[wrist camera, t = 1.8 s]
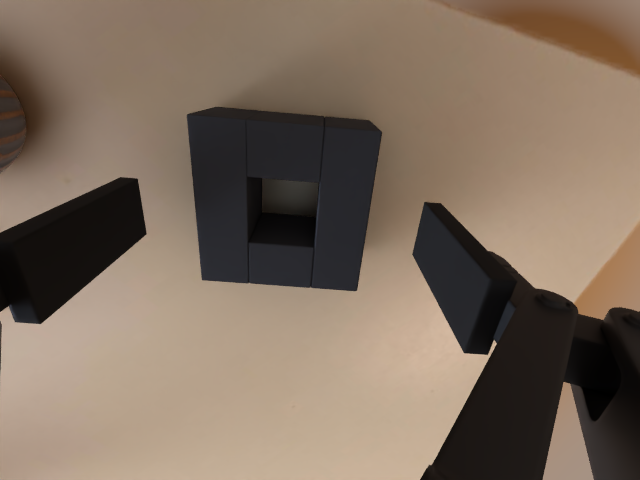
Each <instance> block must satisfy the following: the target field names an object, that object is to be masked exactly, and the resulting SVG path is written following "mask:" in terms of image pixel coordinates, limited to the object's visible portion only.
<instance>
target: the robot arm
mask: <svg viewBox="0 0 640 480" xmlns="http://www.w3.org/2000/svg"><path fill="white" fill-rule="evenodd" d="M145 235H146V227H145V221H144V215H143V209H142V202H141V196H140V190H139V184H138V179H135V178H122V177H120V178H118V179H116V180H114V181H112V182H109V183H107V184H105V185H103V186H101V187H98V188H96V189H94V190H92V191H90V192H88V193H85V194H83V195H81V196H79V197H77V198H75V199H72V200H70V201H68V202H66V203H64V204H62V205H59V206H57V207H55V208H53V209H51V210H49V211H46V212H44V213H42V214H40V215H38V216H36V217H33V218H31V219H29V220H27V221H25V222H22V223H20V224H18V225H16V226H14V227H12V228H9V229H7V230H5V231H3V232H1V233H0V312H1V311H2V310H4V309H5V308H6V307H8V306H9V308H10V310H11V313H12V315H13V318H14V320H15V322H20V323H35V324H41V323H43V322H44V321H45V320H46V319H47V318H48V317H50V316H51V315H52V314H53V313H54V312H55V311H57V310H58V309H59V308H60V307H61V306H63V305H64V304H65V303H66V302H67V301H68V300H70V299H71V298H72V297H73V296H74V295H75V294H77V293H78V292H79V291H80V290H81V289H83V288H84V287H85V286H86V285H87V284H88V283H90V282H91V281H92V280H93V279H94V278H95V277H97V276H98V275H99V274H100V273H101V272H103V271H104V270H105V269H106V268H107V267H108V266H110V265H111V264H112V263H113V262H114V261H115V260H117V259H118V258H119V257H120V256H121V255H123V254H124V253H125V252H126V251H127V250H128V249H130V248H131V247H132V246H133V245H134V244H135V243H137V242H138V241H139V240H140V239H141V238H143V237H144V236H145ZM412 255H413V257H414V259H415V260H416V262H417V264H418V266H419V268H420V270H421V272H422V274H423V276H424V278H425V279H426V281H427V283H428V285H429V287H430V289H431V291H432V293H433V295H434V297H435V299H436V300H437V302H438V304H439V306H440V308H441V310H442V312H443V314H444V316H445V318H446V320H447V321H448V323H449V325H450V327H451V329H452V331H453V333H454V335H455V337H456V339H457V341H458V342H459V344H460V346H461V348H462V350H463V352H464V353H470V354H485V355H488V353H489V351H490V348H491V346H492V343H493V341H494V340H495V341H496V343H497V345H496V347H495V349H494V350H493V352H492V354H491V356H490V358H489V360H488V362H487V363H486V365H485V367H484V369H483V371H482V373H481V375H480V377H479V378H478V380H477V382H476V384H475V386H474V388H473V390H472V391H471V393H470V395H469V397H468V399H467V401H466V403H465V405H464V406H463V408H462V410H461V412H460V414H459V416H458V418H457V419H456V421H455V423H454V425H453V427H452V429H451V431H450V433H449V434H448V436H447V438H446V440H445V442H444V444H443V446H442V447H441V449H440V451H439V453H438V455H437V457H436V459H435V460H434V462H433V464H432V465H429V466H428V468H427V469H426V470H425V472H424V474H423V476H422V477H421V479H420V480H542V479H543V474H544V469H545V465H546V460H547V456H548V451H549V446H550V441H551V437H552V432H553V428H554V423H555V418H556V414H557V409H558V405H559V400H560V395H561V391H562V386H563V382H567V383H570V384H571V388H572V392H573V396H574V400H575V404H576V408H577V412H578V416H579V420H580V424H581V429H582V432H583V437H584V440H585V445H586V448H587V453H588V457H589V461H590V465H591V469H592V473H593V477H594V480H640V312H637V311H634V310H631V309H626V308H620V307H619V308H612V309H610V310H609V311H608V313H607V315H606V317H605V319H604V320H601V319H596V318H593V317H588V316H584V315H580V314H578V309H577V307H576V306H575V305H574V304H573V303H572V302H571V301H569V300H568V299H566V298H565V297H563V296H561V295H558V294H556V293H554V292H550V291H547V290H543V289H535V288H534V287H533V286H532V285H531V284H530V283H529V282H528V281H527V280H526V279H525V278H523V277H522V276H521V275H520V274H518V272H517V271H516V270H515V269H514V268H513V267H511V265H510V264H509V263H508V262H507V261H506V260H505V259H504V258H502V257H500V256H499V255H497V254H495V253H493V252H491V251H487V250H486V249H485V248H484V247H483V246H482V245H481V244H480V243H479V242H478V241H477V240H476V239H475V238H474V237H473V236H472V235H471V234H470V233H469V232H468V231H467V229H466V228H465V227H464V226H463V225H462V224H461V223H460V222H459V221H458V220H457V219H456V218H455V217H454V216H453V215H452V214H451V213H450V212H449V211H448V210H447V209H446V208H445V207H444V206H443V205H442V204H441V203H429V202H424V206H423V211H422V215H421V219H420V224H419V228H418V232H417V237H416V241H415V245H414V250H413V254H412ZM1 331H2V324H1V322H0V369H1Z"/></svg>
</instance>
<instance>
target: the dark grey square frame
mask: <svg viewBox="0 0 640 480" xmlns="http://www.w3.org/2000/svg"><path fill="white" fill-rule="evenodd" d="M187 121H188V132H189V143H190V154H191V165H192V176H193V187H194V198H195V209H196V220H197V231H198V242H199V253H200V264H201V275H202V280H208V281H222V282H235V283H252V284H266V285H279V286H293V287H306V288H310V287H312V288H320V289H333V290H347V291H357V287H358V281H359V275H360V268H361V262H362V256H363V249H364V243H365V237H366V230H367V224H368V218H369V211H370V205H371V199H372V193H373V186H374V180H375V174H376V167H377V161H378V155H379V148H380V142H381V136H382V131H380V130H379V129H378V128H377V127H376V126H375V125H374V124H373V123H372V122H370V121H369V120H359V119H348V118H336V117H324V116H314V115H303V114H292V113H280V112H269V111H257V110H246V109H235V108H223V107H214V108H210V109H206V110H202V111H198V112H194V113H190V114H187ZM262 178H268V179H280V180H292V181H304V182H316V183H319V186H318V198H317V211H316V217H310V216H298V215H285V214H273V213H262Z"/></svg>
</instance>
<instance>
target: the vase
mask: <svg viewBox="0 0 640 480" xmlns="http://www.w3.org/2000/svg"><path fill="white" fill-rule="evenodd" d="M25 136H26V121H25V116H24V112H23V109H22V106H21V104H20V102H19V100H18V98H17V96H16V94H15V93H14V91H13V90H12V88H11V87H10V85H9V84H8V83H7V82H6V80H5V79H4V78H3V77H2V76H1V75H0V173H1V172H3V171H4V170H5V169H6V168H7V167H8V166H10V165H11V164H12V163H13V161H14V160H15V159H16V158H17V156H18V155H19V154H20V152H21V150H22V148H23V145H24V141H25Z"/></svg>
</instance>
